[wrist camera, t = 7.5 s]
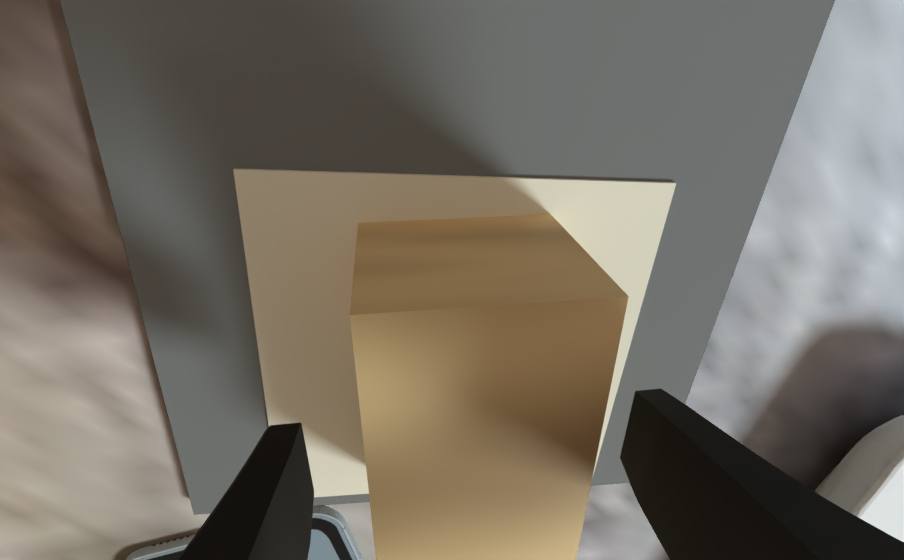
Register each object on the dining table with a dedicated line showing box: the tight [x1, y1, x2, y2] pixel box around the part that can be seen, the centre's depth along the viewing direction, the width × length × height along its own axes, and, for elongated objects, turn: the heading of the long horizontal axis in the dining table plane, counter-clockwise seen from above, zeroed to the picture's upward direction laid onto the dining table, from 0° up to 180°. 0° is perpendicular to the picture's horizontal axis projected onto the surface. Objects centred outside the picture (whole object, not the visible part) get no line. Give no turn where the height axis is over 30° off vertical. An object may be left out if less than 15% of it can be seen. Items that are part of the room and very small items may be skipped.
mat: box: [60, 0, 835, 515], centre depth 11 cm, size 15×20×1 cm
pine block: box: [350, 214, 629, 560], centre depth 11 cm, size 8×4×4 cm, turn 179°
